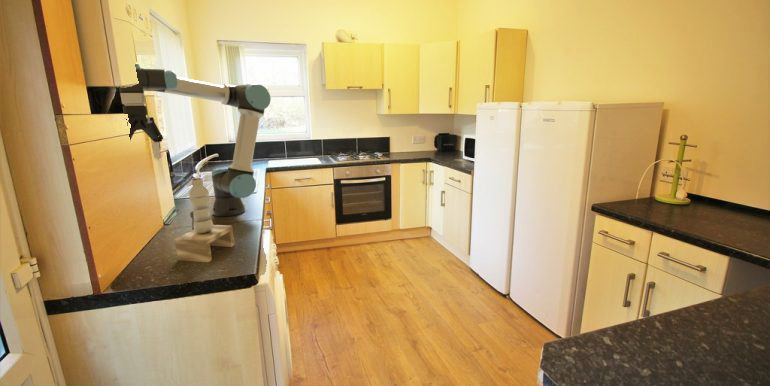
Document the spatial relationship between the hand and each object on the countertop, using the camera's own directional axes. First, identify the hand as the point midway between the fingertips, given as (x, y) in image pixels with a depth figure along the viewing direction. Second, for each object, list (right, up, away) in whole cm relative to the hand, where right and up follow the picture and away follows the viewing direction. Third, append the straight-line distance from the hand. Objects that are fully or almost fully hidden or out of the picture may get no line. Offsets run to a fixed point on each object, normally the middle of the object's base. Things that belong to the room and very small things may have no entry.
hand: (144, 160), depth 141 cm
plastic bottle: (+28, -28, -9) cm, 40 cm away
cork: (+16, -31, +11) cm, 37 cm away
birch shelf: (+28, -35, -7) cm, 45 cm away
